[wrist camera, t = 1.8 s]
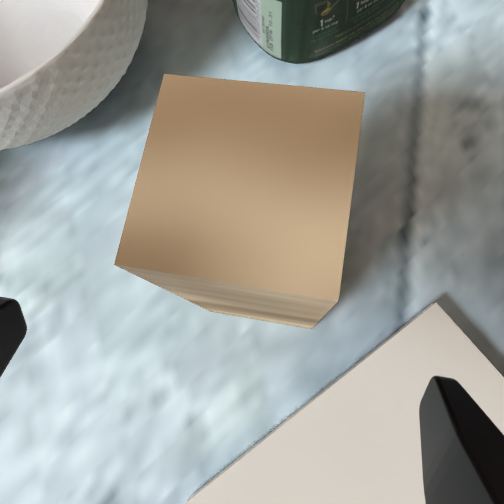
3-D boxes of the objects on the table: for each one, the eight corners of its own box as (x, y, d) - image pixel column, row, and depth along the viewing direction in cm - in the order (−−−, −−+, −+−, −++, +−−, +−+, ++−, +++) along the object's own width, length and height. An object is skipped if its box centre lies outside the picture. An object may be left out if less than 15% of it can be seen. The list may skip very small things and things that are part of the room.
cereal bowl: (167, 183, 21) (110, 105, 15) (-112, 195, 23) (-282, 130, 16) (179, -61, 26) (139, -211, 19) (-58, -37, 27) (-176, -167, 20)
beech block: (311, 328, 19) (338, 301, 8) (210, 311, 19) (114, 264, 9) (325, 229, 20) (364, 92, 9) (229, 216, 21) (164, 74, 10)
